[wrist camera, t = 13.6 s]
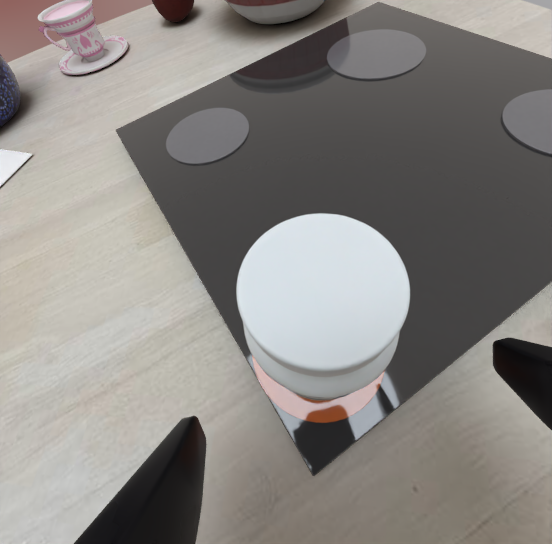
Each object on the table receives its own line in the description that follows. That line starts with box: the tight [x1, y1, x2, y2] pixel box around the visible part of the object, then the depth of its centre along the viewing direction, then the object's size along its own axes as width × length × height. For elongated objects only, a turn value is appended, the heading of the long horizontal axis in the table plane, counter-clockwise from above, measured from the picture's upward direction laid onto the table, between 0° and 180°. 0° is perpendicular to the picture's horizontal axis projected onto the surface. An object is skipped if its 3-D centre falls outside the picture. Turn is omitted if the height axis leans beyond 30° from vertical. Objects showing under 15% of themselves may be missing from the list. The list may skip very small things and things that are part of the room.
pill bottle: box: [236, 213, 410, 401], centre depth 11 cm, size 6×6×10 cm
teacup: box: [38, 0, 128, 75], centre depth 41 cm, size 12×12×6 cm
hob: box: [116, 2, 552, 476], centre depth 25 cm, size 38×40×2 cm
